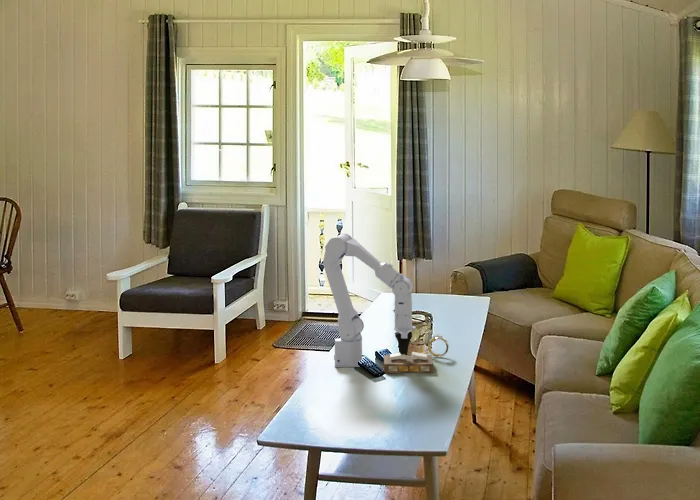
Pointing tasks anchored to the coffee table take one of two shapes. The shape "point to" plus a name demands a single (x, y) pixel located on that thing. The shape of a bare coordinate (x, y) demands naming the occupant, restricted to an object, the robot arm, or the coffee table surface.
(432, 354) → the ring
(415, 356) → the rocker right
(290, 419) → the coffee table surface
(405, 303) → the robot arm
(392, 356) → the block
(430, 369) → the switch box
